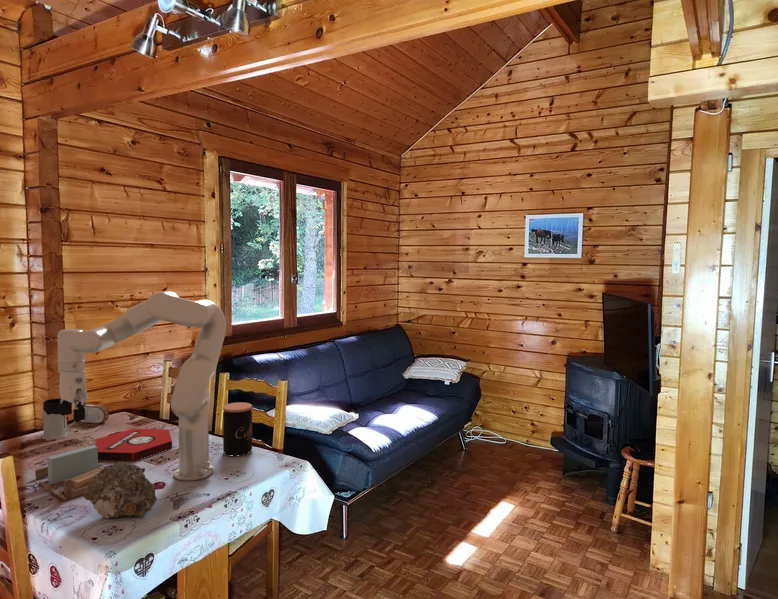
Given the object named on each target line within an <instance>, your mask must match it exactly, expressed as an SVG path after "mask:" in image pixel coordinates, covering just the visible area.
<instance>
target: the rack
mask: <svg viewBox="0 0 778 599" xmlns="http://www.w3.org/2000/svg"><path fill="white" fill-rule="evenodd" d="M98 468H99V469H104V468H105V467H103V466H100V465H99V464H98ZM34 470H35V471H34V472H35V474H34V475H35V480H39V479H38V478H40V479H43V478H42V477H44V478H46V477H45V476H47V477H48V466H46V467H42V468H38V469H34ZM46 483H47V484H46ZM39 484H40V485H39ZM38 485H39V486H41V487H42V486H43V489H45V488H46V489H45V490H47V491H48V490H49V491H48V492H50V493H51V492H52V493H51V494H53V493H54V494H55V495H54V494H53V495H54V496H56V495H57V496H58V498H59V497H60V498H59V499H61V500H62V499H63V500H62V501H64V502H65V500H66V501H69V500H72V499H74V498H77V497H80V496H84V495H83V494H84V493H85V491H86V489H87V487H88V485H86V486H83V487H80V488H77V489H73V490H71V479H70V478H68V479H64V480H63V481H62V482H59V483H55V484H52V485H49V484H48V479H47V480H44V481H42V480H41V481H39V482H38ZM59 485H60V486H63V493H61V492H59V491H58V490H56V489H55V488H56V487H59ZM55 486H56V487H55ZM52 487H53V488H52ZM57 496H56V497H57ZM68 499H69V500H68Z"/></svg>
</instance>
